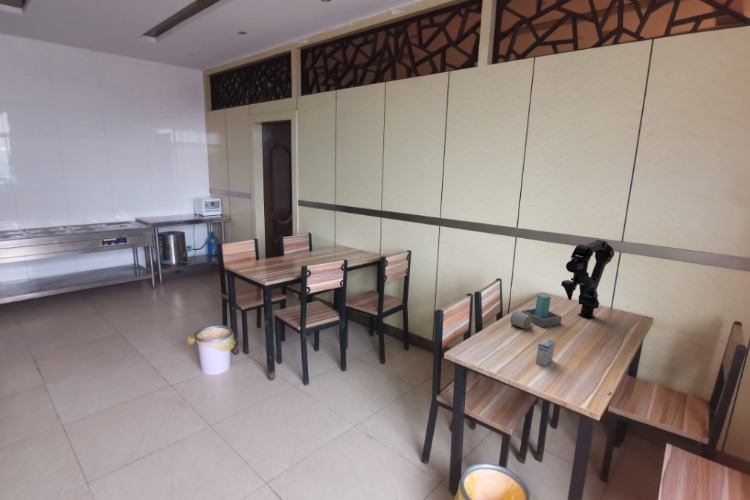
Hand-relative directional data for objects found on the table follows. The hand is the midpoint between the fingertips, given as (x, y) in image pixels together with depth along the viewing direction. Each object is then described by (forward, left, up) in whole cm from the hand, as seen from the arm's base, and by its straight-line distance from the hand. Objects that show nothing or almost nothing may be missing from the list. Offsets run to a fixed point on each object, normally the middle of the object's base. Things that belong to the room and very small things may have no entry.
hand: (575, 298), depth 203 cm
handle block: (+14, -8, -12) cm, 20 cm away
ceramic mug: (+29, -7, -13) cm, 33 cm away
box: (+14, -8, -13) cm, 21 cm away
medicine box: (+49, +24, -13) cm, 56 cm away
